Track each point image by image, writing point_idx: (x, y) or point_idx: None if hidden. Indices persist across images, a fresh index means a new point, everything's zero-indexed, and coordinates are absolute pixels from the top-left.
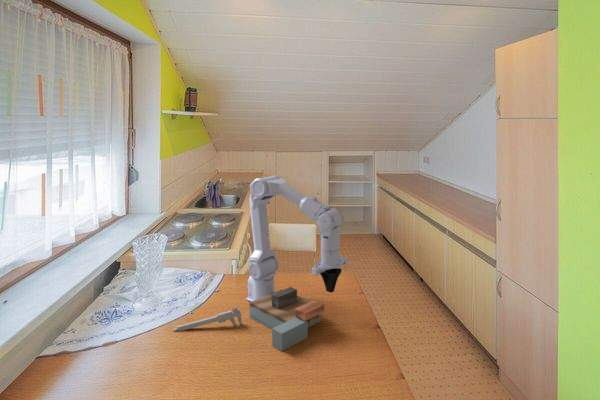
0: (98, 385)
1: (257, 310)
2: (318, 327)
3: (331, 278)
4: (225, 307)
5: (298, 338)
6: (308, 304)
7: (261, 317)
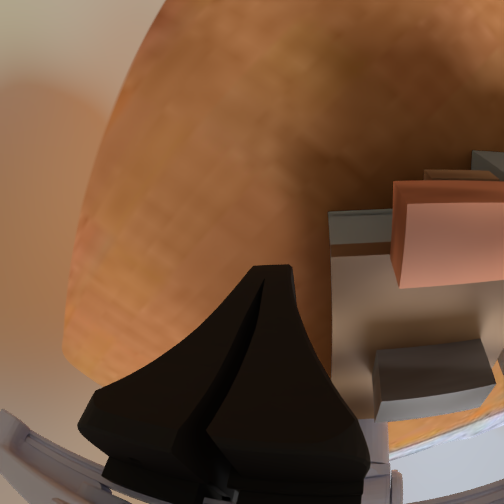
0: None
1: None
2: (378, 177)
3: (323, 382)
4: None
5: None
6: (465, 271)
7: None
